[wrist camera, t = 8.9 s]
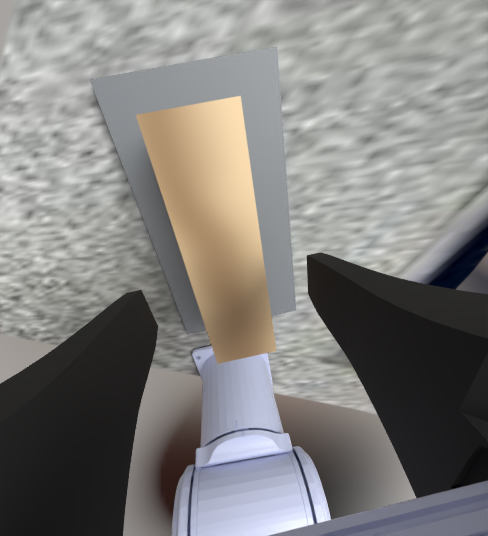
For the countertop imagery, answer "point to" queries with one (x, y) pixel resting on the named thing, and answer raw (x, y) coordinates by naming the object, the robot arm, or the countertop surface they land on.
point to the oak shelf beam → (214, 219)
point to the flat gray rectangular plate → (259, 147)
